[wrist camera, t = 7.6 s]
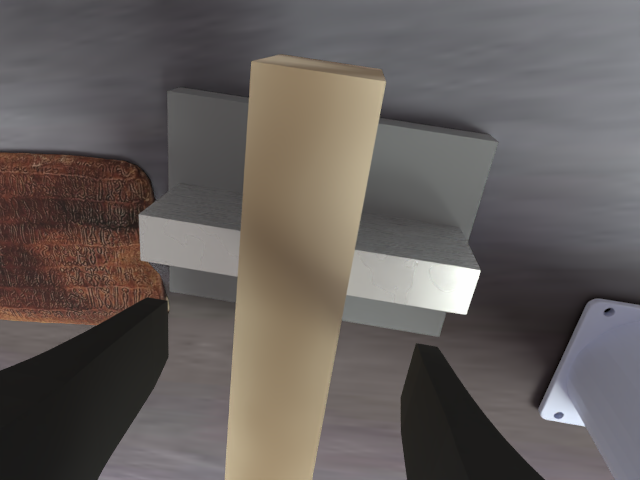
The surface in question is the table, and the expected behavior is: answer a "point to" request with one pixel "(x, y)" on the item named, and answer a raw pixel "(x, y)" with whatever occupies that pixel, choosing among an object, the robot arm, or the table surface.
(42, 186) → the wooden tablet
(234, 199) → the steel ridge
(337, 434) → the table surface
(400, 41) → the table surface
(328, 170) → the maple bar
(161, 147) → the table surface
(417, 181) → the grey slab
